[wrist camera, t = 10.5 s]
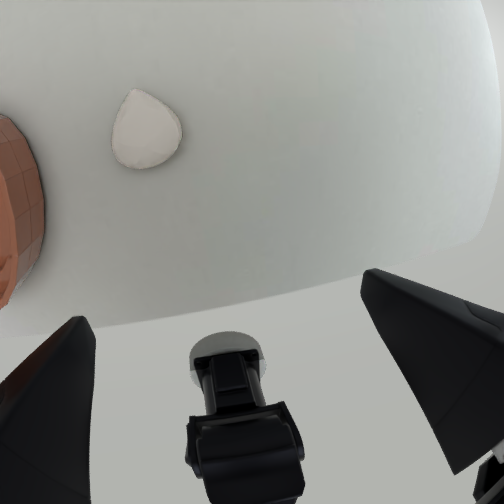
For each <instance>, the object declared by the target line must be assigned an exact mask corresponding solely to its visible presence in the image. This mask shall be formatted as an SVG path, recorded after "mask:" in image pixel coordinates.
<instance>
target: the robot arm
mask: <svg viewBox="0 0 504 504" xmlns="http://www.w3.org/2000/svg"><path fill="white" fill-rule="evenodd" d="M360 293H361V298H362V300H363V302H364V304H365V306H366V308H367V310H368V312H369V314H370V316H371V318H372V320H373V323H374V325H375V327H376V329H377V331H378V333H379V334H380V336H381V338H382V340H383V341H384V343H385V344H386V346H387V348H388V349H389V351H390V353H391V355H392V356H393V358H394V360H395V361H396V363H397V365H398V367H399V368H400V370H401V372H402V374H403V375H404V377H405V379H406V381H407V382H408V384H409V386H410V388H411V390H412V391H413V393H414V395H415V397H416V399H417V401H418V403H419V404H420V406H421V408H422V410H423V412H424V414H425V416H426V417H427V420H428V422H429V424H430V426H431V428H432V429H433V432H434V434H435V436H436V438H437V440H438V442H439V444H440V446H441V448H442V450H443V452H444V455H445V457H446V459H447V461H448V464H449V466H450V468H451V470H452V472H453V474H454V475H456V474H458V473H459V472H461V471H463V470H464V469H465V468H467V467H468V466H470V465H471V464H473V463H474V462H475V461H477V460H478V459H479V458H481V457H482V456H483V455H485V454H486V453H487V452H489V451H490V450H492V452H493V454H492V455H491V456H490V457H489V458H488V459H487V460H486V461H485V462H484V463H483V464H482V465H480V466H479V471H478V475H477V480H476V484H475V488H474V492H473V496H474V498H475V500H476V503H475V504H504V314H503V313H501V312H497V311H494V310H491V309H488V308H485V307H482V306H480V305H477V304H474V303H471V302H469V301H466V300H463V299H461V298H458V297H455V296H453V295H449V294H447V293H444V292H442V291H439V290H436V289H433V288H431V287H428V286H425V285H422V284H419V283H417V282H414V281H411V280H408V279H405V278H402V277H399V276H397V275H394V274H391V273H388V272H385V271H382V270H379V269H376V268H374V269H369V270H366V271H365V272H364V274H363V279H362V285H361V291H360ZM95 349H96V338H95V335H94V333H93V331H92V329H91V327H90V325H89V323H88V321H87V319H86V318H85V317H84V316H74V317H72V318H71V319H69V320H68V321H67V322H66V323H65V324H64V325H63V326H61V327H60V328H59V329H58V330H57V331H56V332H55V333H53V334H52V335H51V336H50V337H49V338H48V339H47V340H46V341H44V342H43V343H42V344H41V345H40V346H39V347H38V348H37V349H36V350H35V351H34V352H33V353H31V354H30V355H29V356H28V357H27V358H26V359H25V360H24V361H23V362H22V363H21V364H20V365H19V366H18V367H17V368H16V369H15V370H13V372H11V373H10V374H9V375H8V377H6V378H5V380H3V381H2V382H1V384H0V504H91V500H90V498H91V496H90V479H89V477H90V476H89V446H90V443H89V442H90V422H91V409H92V398H93V390H94V374H95ZM253 353H254V354H253ZM193 363H194V367H195V370H196V373H197V376H198V379H199V383H200V386H201V388H202V391H203V394H204V398H205V406H206V414H207V415H205V416H189V423H188V425H187V426H186V427H187V439H188V440H187V448H186V455H185V461H186V463H187V464H188V465H189V466H191V467H192V469H193V471H194V473H195V475H196V477H197V478H198V479H201V478H203V481H204V485H205V489H206V493H207V496H208V498H209V501H210V502H211V503H212V504H295V503H296V500H297V498H298V497H300V496H302V494H303V490H304V487H305V481H304V476H303V472H302V469H301V464H300V461H303V460H304V457H305V456H304V455H305V454H304V447H303V442H302V439H301V436H300V433H299V431H298V429H297V426H296V425H295V422H294V420H293V419H292V416H291V415H290V412H289V410H288V409H287V406H286V404H285V402H284V401H281V402H278V403H276V404H272V405H267V406H266V403H265V399H264V396H263V393H262V389H261V386H260V365H259V352H258V350H257V349H249V350H243V351H237V352H231V353H225V354H218V355H211V356H204V357H197V358H195V359H194V360H193Z"/></svg>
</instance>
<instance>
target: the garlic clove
mask: <svg viewBox="0 0 504 504" xmlns="http://www.w3.org/2000/svg"><path fill="white" fill-rule="evenodd" d="M181 138H182V127H181V124H180V121H179V119H178V117H177V115H176V114H175V113H174V112H173V111H172V110H171V109H170V108H169V107H167V106H166V105H165V104H164V103H162V102H161V101H160V100H158V99H156V98H155V97H153V96H151V95H149V94H147V93H145V92H143V91H141V90H139V89H132V90H131V91H130V92H129V93H128V95H127V97H126V98H125V100H124V102H123V104H122V106H121V108H120V110H119V112H118V114H117V117H116V120H115V124H114V127H113V132H112V137H111V143H112V150H113V153H114V155H115V157H116V159H117V160H118V161H119V162H120V163H121V164H123V165H124V166H127V167H129V168H133V169H145V168H151V167H154V166H156V165H158V164H160V163H162V162H164V161H166V160H167V159H168V158H169V157H170V156H171V155H172V154H174V152H175V150H176V149H177V147H178V146H179V143H180V141H181Z"/></svg>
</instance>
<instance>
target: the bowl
mask: <svg viewBox="0 0 504 504" xmlns="http://www.w3.org/2000/svg"><path fill="white" fill-rule="evenodd" d="M43 234H44V198H43V193H42V189H41V184H40V179H39V174H38V169H37V165H36V162H35V160H34V158H33V156H32V153H31V151H30V149H29V146H28V144H27V141H26V139H25V137H24V136H23V135H22V134H21V132H20V131H19V130H18V129H17V128H16V126H15V125H14V124H13V123H12V121H11V120H10V119H9V118H7V117H5V116H3V115H1V114H0V309H1V308H3V307H4V306H6V305H7V304H8V302H9V301H10V300H11V298H12V297H13V295H14V294H15V292H16V291H17V290H18V288H19V287H20V286H21V284H22V283H23V282H24V280H25V279H26V278H27V276H28V275H29V273H30V272H31V270H32V268H33V266H34V264H35V263H36V261H37V259H38V257H39V254H40V249H41V244H42V239H43Z"/></svg>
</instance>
